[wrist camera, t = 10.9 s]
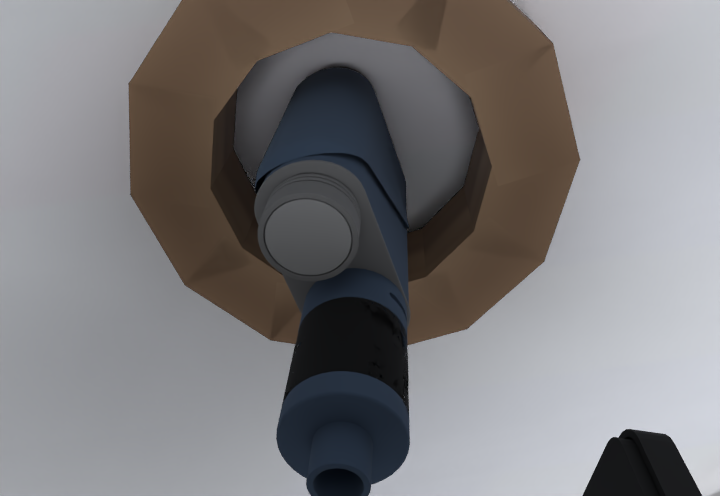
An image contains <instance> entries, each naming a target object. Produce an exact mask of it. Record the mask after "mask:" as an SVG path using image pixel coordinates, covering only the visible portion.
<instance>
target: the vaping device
mask: <svg viewBox="0 0 720 496" xmlns="http://www.w3.org/2000/svg"><path fill="white" fill-rule="evenodd" d="M255 190H256V193H257V195H256V199H255V205H254V211H255V217H256V220H257V223H258V225H259V226H258V242H259V246H260V249H261V251H262V253H263V255H264V257H265V258H266V260H267V261H268V262H269V263H270V264H271V265H272V266H273V267H274V268H275V269H276V270H278V271H279V272H281V273H282V275H283V277H284V279H285V281H286V283H287V285H288V287H289V289H290V292H291V294H292V296H293V298H294V300H295V302H296V304H297V306H298V308H299V310H300V312H301V314H302V316H301V320H300V325H299V329H298V334H297V335H298V336H297V341H296V344H295V348H294V353H293V355H294V356H293V357H292V362H291V367H290V371H289V376H288V380H287V385H286V390H285V394H284V399H283V404H282V408H281V413H280V418H279V422H278V427H277V438H276V439H277V444H278V448H279V450H280V453H281V455H282V457H283V458H284V459H285V461H286V462H287V464H288V465H289V466H290V467H292V468H293V469H294V470H295V471H296V472H298V473H299V474H300V475H302V476H303V477H305V478H307V482H306V485H307V489H308V492H309V493H310V495H311V496H368V495H369V493H370V490H371V484H375V483H377V482H379V481H382V480H384V479H386V478H387V477H389V476H390V475H392V474H393V473H394V472H395V471H396V470H398V469H399V467H400V466H401V465H402V463H403V462H404V461H405V458H406V456H407V454H408V450H409V445H410V436H409V402H408V400H409V399H408V398H409V395H408V394H409V390H408V381H407V380H408V355H407V354H408V353H407V352H408V351H407V344H408V340H407V328H408V326H409V322H410V308H409V290H408V251H407V228H409V225H408V221H407V212H406V182H405V178H404V175H403V172H402V169H401V166H400V163H399V160H398V158H397V155H396V152H395V149H394V146H393V143H392V140H391V137H390V134H389V132H388V129H387V126H386V123H385V120H384V117H383V114H382V111H381V108H380V106H379V103H378V100H377V97H376V94H375V91H374V89H373V87H372V85H371V83H370V82H369V81H368V80H367V79H366V78H365V77H364V76H362V75H361V74H360V73H358V72H356V71H353V70H350V69H348V68H337V67H334V68H329V69H324V70H320V71H318V72H316V73H314V74H312V75H310V76H308V77H307V78H306V79H305V80H304V81H303V82H302V83H301V84H300V85H298V87H297V88H296V90H295V92H294V94H293V96H292V98H291V100H290V102H289V104H288V106H287V108H286V111H285V113H284V115H283V117H282V119H281V121H280V123H279V126H278V128H277V130H276V132H275V134H274V136H273V139H272V141H271V143H270V145H269V147H268V149H267V151H266V154H265V156H264V158H263V160H262V162H261V164H260V166H259V169H258V171H257V175H256V182H255ZM298 345H299V346H298ZM297 347H298V348H297ZM406 357H407V358H406ZM406 378H407V380H406ZM405 381H406V382H405ZM403 395H404V396H405V398H404V396H403ZM407 397H408V398H407ZM406 403H407V404H406Z"/></svg>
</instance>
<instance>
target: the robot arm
mask: <svg viewBox="0 0 720 496" xmlns="http://www.w3.org/2000/svg"><path fill="white" fill-rule="evenodd" d="M583 496H702V495H701V493H700V491H699V489H698V487H697V485H696V483H695V481H694V480H693V478H692V476H691V474H690V472H689V470H688V468H687V466H686V464H685V463H684V461H683V459H682V457H681V455H680V453H679V451H678V449H677V448H676V446H675V444H674V442H673V441H672V439H671V438H670V437H669V436H667V435H666V434H660V433H653V432H646V431H639V430H632V429H626V430H625V431H623V432H622V433H621V435H620V436H619V438H617V437H613V438H611V439H610V440H609V442H608V443H607V445H606V447H605V449H604V451H603V454H602V456H601V458H600V460H599V462H598V464H597V466H596V468H595V470H594V473H593V475H592V477H591V479H590V481H589V483H588V485H587V487H586V489H585V492H584V494H583Z"/></svg>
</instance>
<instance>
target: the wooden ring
mask: <svg viewBox="0 0 720 496" xmlns="http://www.w3.org/2000/svg"><path fill="white" fill-rule="evenodd" d="M330 32H332V33H338V34H344V35H350V36H355V37H361V38H367V39H373V40H378V41H384V42H390V43H396V44H401V45H407V46H412V47H413V48H414V49H415V50H417V51H418V52H419V53H420V54H421V55H422V56H424V57H425V58H426V59H427V60H428V61H429V62H431V63H432V64H433V65H434V66H435V67H436V68H437V69H439V70H440V71H441V72H442V73H443V74H444V75H446V76H447V77H448V78H449V79H450V80H451V81H452V82H454V83H455V84H456V85H457V86H458V87H459V88H461V89H462V90H463V91H464V92H465V93H466V94H467V95H469V97H470V101H471V104H472V107H473V111H474V114H475V117H476V120H477V124H478V127H479V130H478V134H477V137H476V141H475V145H474V149H473V153H472V156H471V160H470V164H469V168H468V172H467V175H466V179H465V183H464V187H463V188H462V189H461V190H460V191H459V192H458V193H457V194H456V195H455V196H454V197H453V198H452V199H451V200H450V201H449V202H448V203H447V204H446V205H445V206H444V207H443V208H442V209H441V210H440V211H439V212H438V213H437V214H436V215H435V216H434V217H433V218H432V219H431V220H430V221H429V222H428V223H427V224H426V225H425V226H424V227H423V228H422V229H419V230H416V231H413V232H409V233H407V251H408V290H409V308H410V322H409V326H408V328H407V340H408V344H407V345H410V344H414V343H417V342H421V341H425V340H428V339H432V338H436V337H439V336H443V335H447V334H450V333H454V332H458V331H461V330H465V329H468V328H469V327H470V326H471V325H472V324H473V323H474V322H475V321H477V320H478V319H479V318H480V317H481V316H482V315H483V314H485V313H486V312H487V311H488V310H489V309H490V308H491V307H493V306H494V305H495V304H496V303H497V302H498V301H499V300H501V299H502V298H503V297H504V296H505V295H506V294H507V293H509V292H510V291H511V290H512V289H513V288H514V287H515V286H517V285H518V284H519V283H520V282H521V281H522V280H523V279H525V278H526V277H527V276H528V275H529V274H530V273H531V272H533V271H534V270H535V269H536V268H537V267H538V266H539V265H541V264H542V263H543V262H544V260H545V257H546V255H547V252H548V249H549V246H550V243H551V240H552V238H553V235H554V232H555V229H556V226H557V223H558V221H559V218H560V215H561V212H562V209H563V206H564V204H565V201H566V198H567V195H568V192H569V189H570V187H571V184H572V181H573V178H574V175H575V172H576V170H577V167H578V164H579V161H580V158H579V153H578V149H577V145H576V140H575V136H574V132H573V128H572V123H571V119H570V115H569V110H568V106H567V102H566V98H565V93H564V89H563V85H562V80H561V76H560V72H559V67H558V63H557V59H556V55H555V50H554V46H553V45H554V44H553V43H552V42H551V41H550V40H549V39H548V38H547V37H546V36H545V34H544V33H543V32H542V31H541V30H540V29H539V28H538V27H537V26H536V25H535V24H534V23H533V22H532V21H531V20H530V19H529V18H528V17H527V16H526V15H525V14H523V13H522V12H521V11H520V10H519V9H518V8H517V7H516V6H515V5H514V4H513V3H512V2H511V1H510V0H182V1H181V3H180V4H179V6H178V7H177V9H176V11H175V12H174V14H173V15H172V17H171V18H170V20H169V21H168V23H167V25H166V26H165V28H164V29H163V31H162V32H161V34H160V36H159V37H158V39H157V40H156V42H155V43H154V45H153V47H152V48H151V50H150V51H149V53H148V54H147V56H146V58H145V59H144V61H143V62H142V64H141V65H140V67H139V68H138V70H137V72H136V73H135V75H134V76H133V78H132V79H131V81H130V82H129V129H130V187H131V194H130V195H131V196H132V198H133V200H134V201H135V203H136V205H137V206H138V208H139V210H140V211H141V213H142V215H143V216H144V218H145V220H146V221H147V223H148V225H149V226H150V228H151V230H152V231H153V233H154V235H155V236H156V238H157V240H158V241H159V243H160V245H161V246H162V248H163V250H164V251H165V253H166V255H167V256H168V258H169V260H170V261H171V263H172V265H173V266H174V268H175V270H176V271H177V273H178V275H179V276H180V278H181V280H182V281H183V283H184V285H185V286H187V287H189V288H190V289H192V290H193V291H195V292H196V293H198V294H199V295H201V296H203V297H204V298H206V299H207V300H209V301H210V302H212V303H213V304H215V305H217V306H218V307H220V308H221V309H223V310H224V311H226V312H228V313H229V314H231V315H232V316H234V317H235V318H237V319H238V320H240V321H242V322H243V323H245V324H246V325H248V326H249V327H251V328H252V329H254V330H256V331H257V332H259V333H260V334H262V335H263V336H265V337H266V338H268V339H270V340H272V341H279V342H286V343H292V344H296V341H297V336H298V335H297V334H298V329H299V325H300V320H301V316H302V314H301V312H300V310H299V308H298V306H297V304H296V302H295V300H294V298H293V296H292V294H291V292H290V289H289V287H288V285H287V283H286V281H285V279H284V277H283V275H282V273H281V272H279V271H278V270H276V269H275V268H274V267H273V266H272V265H271V264H270V263H269V262H268V261H267V260H266V258H265V257H264V255H263V253H262V251H261V249H260V246H259V242H258V226H259V225H258V223H257V220H256V217H255V211H254V205H255V199H256V193H255V191H254V189H253V187H252V185H251V183H250V181H249V179H248V177H247V175H246V173H245V171H244V170H243V168H242V166H241V164H240V162H239V160H238V158H237V156H236V154H235V152H234V150H233V144H234V129H235V114H236V99H237V88H238V86H239V85H240V84H241V82H242V81H243V80H244V78H245V77H246V75H247V74H248V73H249V71H250V70H251V69H252V67H253V66H254V65H255V63H256V62H257V61H258V60H261V59H264V58H266V57H269V56H271V55H274V54H276V53H279V52H282V51H284V50H287V49H289V48H292V47H294V46H297V45H300V44H302V43H305V42H307V41H310V40H312V39H315V38H318V37H320V36H323V35H325V34H328V33H330Z"/></svg>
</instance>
